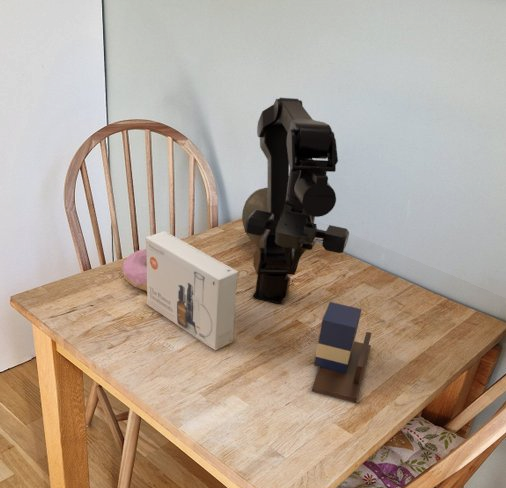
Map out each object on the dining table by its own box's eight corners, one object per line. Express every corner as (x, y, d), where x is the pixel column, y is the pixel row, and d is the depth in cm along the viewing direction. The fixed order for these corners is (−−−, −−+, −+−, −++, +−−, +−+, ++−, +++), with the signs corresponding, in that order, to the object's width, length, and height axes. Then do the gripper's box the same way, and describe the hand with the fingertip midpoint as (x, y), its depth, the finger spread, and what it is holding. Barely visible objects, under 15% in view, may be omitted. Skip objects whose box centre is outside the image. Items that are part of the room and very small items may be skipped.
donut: (110, 288, 132) (110, 267, 130) (137, 259, 145) (137, 239, 142) (179, 302, 130) (180, 281, 127) (200, 271, 143) (201, 252, 140)
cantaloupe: (304, 249, 158) (312, 194, 150) (264, 263, 150) (271, 205, 142) (266, 230, 167) (272, 176, 159) (227, 242, 158) (231, 185, 150)
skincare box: (144, 306, 127) (144, 236, 119) (164, 298, 131) (166, 229, 123) (213, 352, 116) (219, 278, 107) (234, 342, 119) (241, 269, 111)
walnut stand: (311, 391, 109) (315, 368, 106) (330, 339, 124) (334, 318, 121) (355, 403, 107) (361, 380, 105) (369, 349, 122) (374, 328, 119)
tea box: (322, 319, 109) (355, 327, 107) (329, 301, 114) (361, 309, 113) (313, 365, 114) (345, 373, 113) (321, 345, 120) (351, 353, 118)
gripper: (239, 198, 106) (232, 278, 114) (345, 220, 102) (330, 301, 110) (257, 179, 115) (249, 255, 123) (356, 199, 111) (341, 275, 119)
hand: (291, 271), depth 119 cm, fingers closed
